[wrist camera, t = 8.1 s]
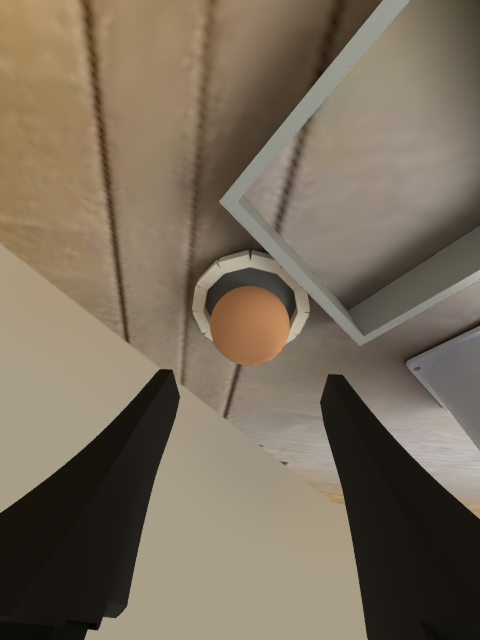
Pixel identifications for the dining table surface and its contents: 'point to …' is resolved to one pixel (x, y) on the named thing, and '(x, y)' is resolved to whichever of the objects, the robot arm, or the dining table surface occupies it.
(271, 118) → the dining table surface
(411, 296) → the low pen
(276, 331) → the orange ball
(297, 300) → the ring
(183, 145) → the dining table surface
